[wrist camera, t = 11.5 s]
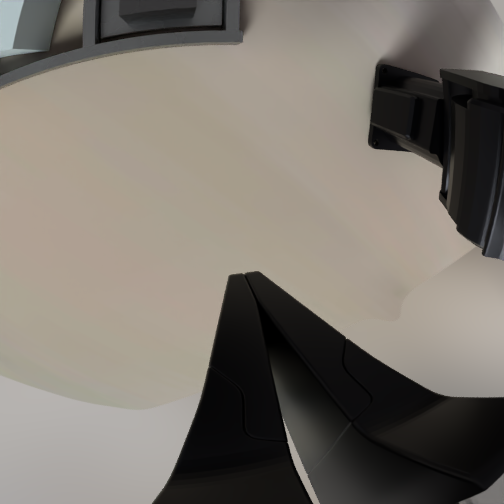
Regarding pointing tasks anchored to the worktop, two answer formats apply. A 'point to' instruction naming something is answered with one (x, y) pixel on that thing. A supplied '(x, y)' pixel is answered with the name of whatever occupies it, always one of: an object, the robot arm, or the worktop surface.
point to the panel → (26, 26)
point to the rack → (141, 30)
